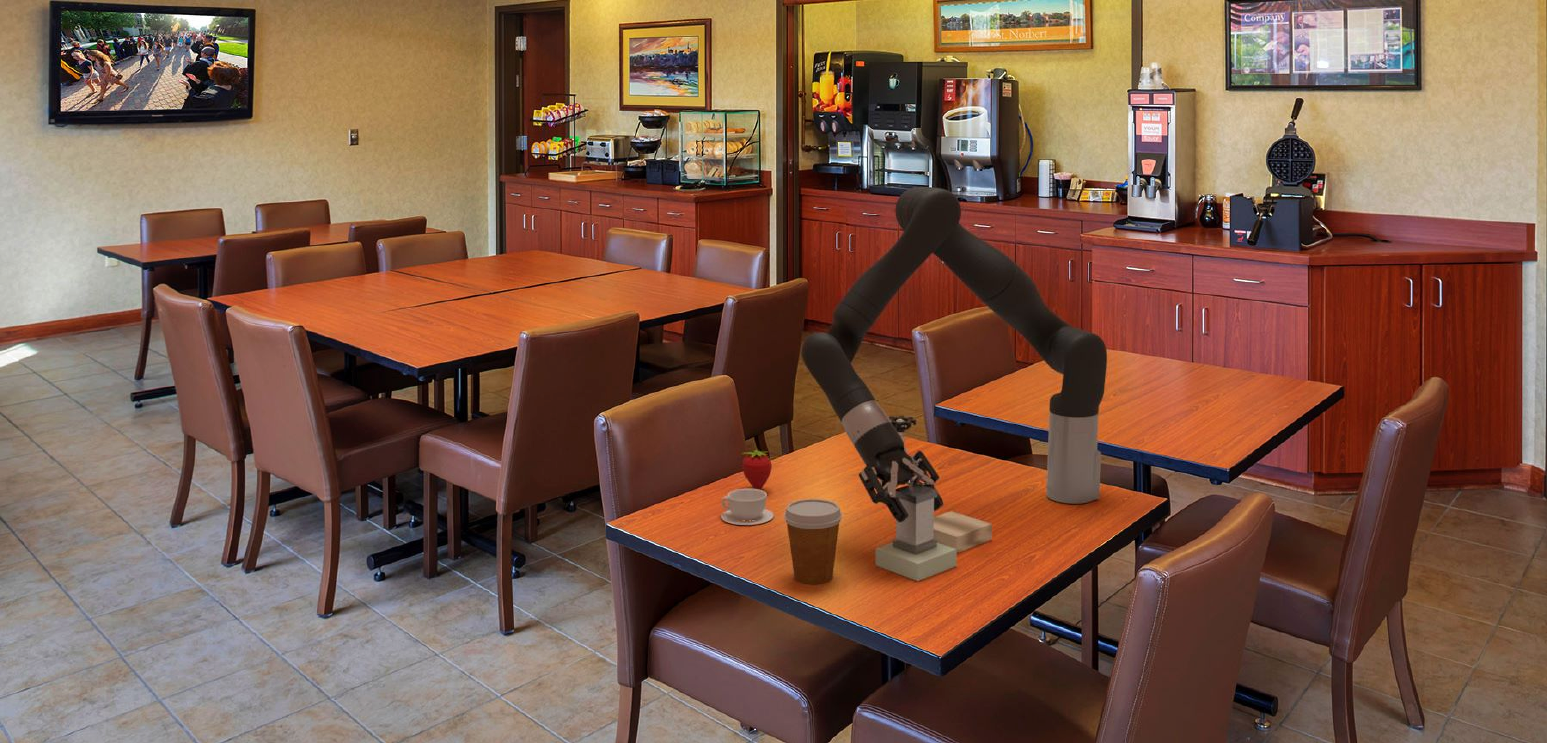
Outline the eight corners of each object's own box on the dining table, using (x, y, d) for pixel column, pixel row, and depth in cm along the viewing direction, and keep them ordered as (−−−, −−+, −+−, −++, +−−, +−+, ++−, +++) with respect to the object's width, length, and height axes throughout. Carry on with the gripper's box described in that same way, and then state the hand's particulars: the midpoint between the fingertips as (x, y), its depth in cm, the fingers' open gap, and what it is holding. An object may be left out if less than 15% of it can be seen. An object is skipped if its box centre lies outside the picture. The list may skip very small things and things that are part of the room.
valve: (914, 480, 246) (914, 424, 243) (882, 478, 247) (882, 422, 244) (916, 470, 252) (917, 415, 249) (885, 469, 253) (886, 414, 251)
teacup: (780, 512, 228) (779, 488, 227) (764, 529, 219) (764, 505, 218) (730, 507, 231) (730, 484, 230) (713, 524, 222) (712, 500, 221)
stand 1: (914, 551, 207) (914, 534, 206) (956, 566, 200) (956, 549, 199) (875, 565, 200) (875, 548, 200) (917, 581, 193) (918, 564, 193)
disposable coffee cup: (782, 567, 200) (780, 499, 198) (838, 564, 201) (838, 496, 198) (787, 589, 191) (786, 518, 188) (846, 587, 192) (846, 516, 189)
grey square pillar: (913, 539, 204) (914, 483, 202) (936, 547, 200) (937, 490, 198) (892, 546, 200) (893, 489, 198) (915, 554, 197) (916, 497, 194)
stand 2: (950, 526, 218) (950, 511, 218) (991, 540, 211) (992, 524, 211) (915, 539, 212) (915, 523, 212) (956, 553, 205) (956, 537, 204)
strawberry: (746, 498, 236) (744, 449, 234) (739, 487, 243) (738, 439, 241) (775, 496, 237) (774, 447, 235) (768, 484, 244) (767, 437, 242)
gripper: (853, 429, 196) (904, 512, 190) (912, 413, 205) (962, 492, 199) (831, 453, 201) (880, 535, 195) (889, 437, 210) (938, 515, 204)
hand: (922, 513), depth 197 cm, fingers open, 8 cm apart
